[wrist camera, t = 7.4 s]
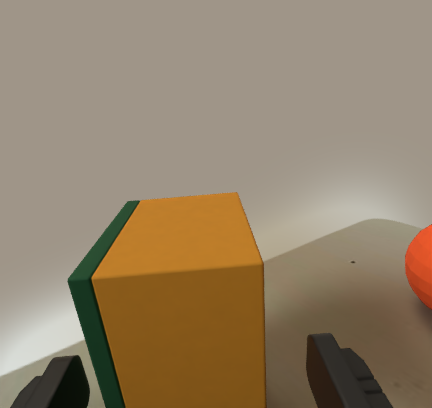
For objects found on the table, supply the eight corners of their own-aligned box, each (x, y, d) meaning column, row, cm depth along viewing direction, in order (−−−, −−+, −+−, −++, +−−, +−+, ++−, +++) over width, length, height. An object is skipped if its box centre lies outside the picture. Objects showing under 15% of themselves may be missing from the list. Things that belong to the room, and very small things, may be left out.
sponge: (246, 370, 17) (237, 191, 13) (269, 509, 11) (263, 262, 7) (161, 378, 16) (127, 200, 13) (139, 522, 11) (65, 279, 7)
